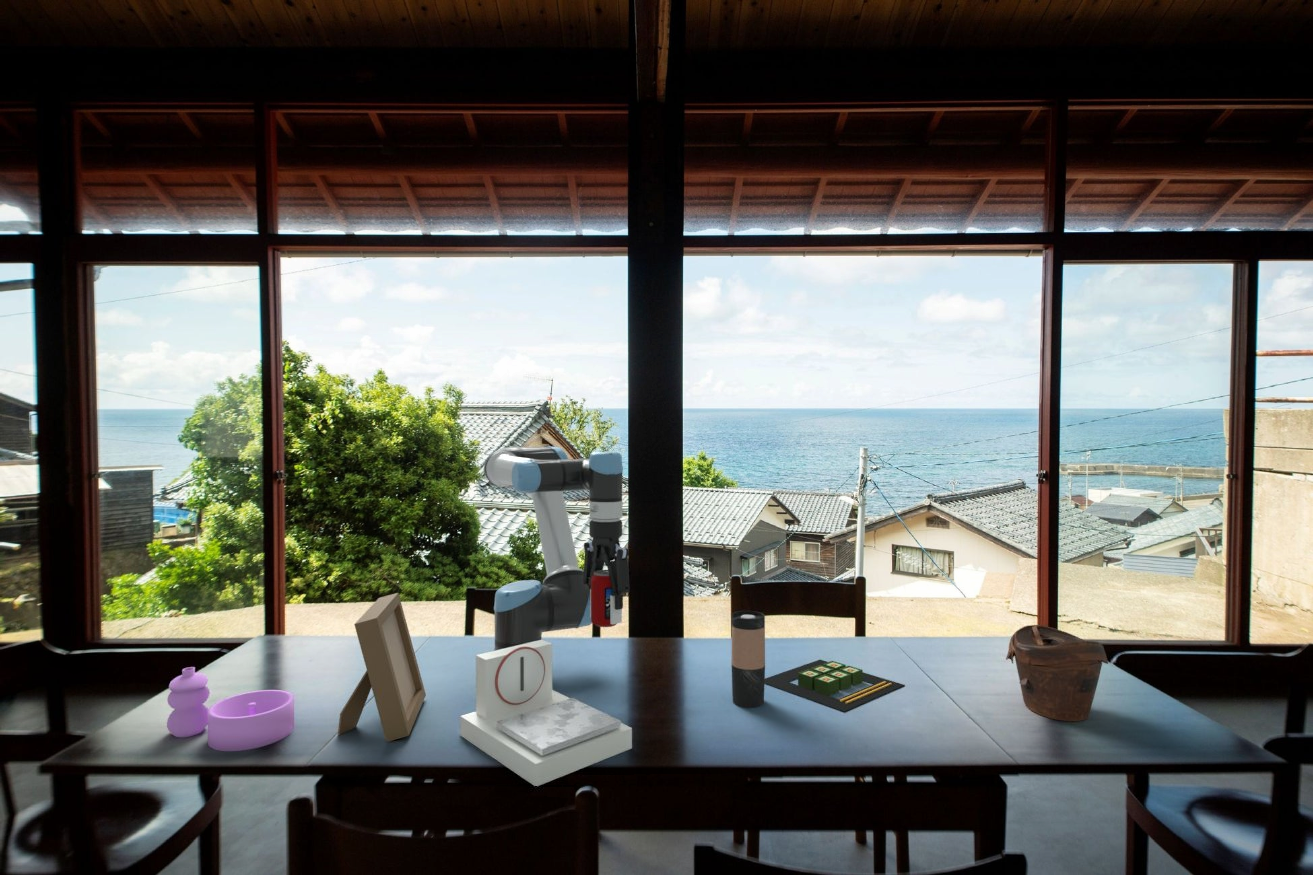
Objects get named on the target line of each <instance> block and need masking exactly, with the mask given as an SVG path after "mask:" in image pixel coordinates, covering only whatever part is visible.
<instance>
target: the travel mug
mask: <svg viewBox="0 0 1313 875" xmlns="http://www.w3.org/2000/svg"><path fill="white" fill-rule="evenodd" d="M765 625H766V617H765V614H764V613H763V612H760V611H756V610H737V611H734V612H732V614H731V692H732V703H733V704H734V705H735V706H739V707H741V708H746V709H747V708H749V709H752V708H754V709H755V708H759V707H760V706H763V705H764V703H765V685H766V684H765V678H766V626H765Z"/></svg>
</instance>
